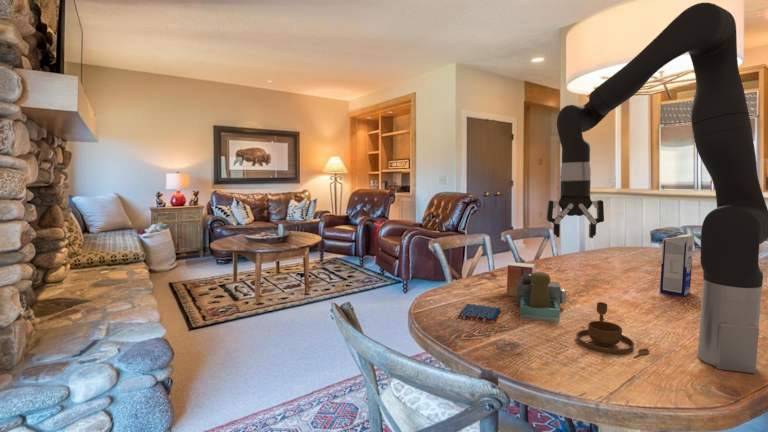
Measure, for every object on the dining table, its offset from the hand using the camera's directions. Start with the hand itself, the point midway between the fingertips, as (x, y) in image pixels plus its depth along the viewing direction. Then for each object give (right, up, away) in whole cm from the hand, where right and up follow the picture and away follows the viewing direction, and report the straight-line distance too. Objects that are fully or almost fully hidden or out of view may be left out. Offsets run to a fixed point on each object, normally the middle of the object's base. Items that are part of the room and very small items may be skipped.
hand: (574, 237), depth 111 cm
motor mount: (-7, -22, +5) cm, 24 cm away
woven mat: (-26, -23, +3) cm, 35 cm away
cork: (-9, -21, +2) cm, 23 cm away
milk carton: (+44, -20, +22) cm, 53 cm away
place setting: (+2, -25, -15) cm, 29 cm away
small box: (-8, -21, +21) cm, 30 cm away
